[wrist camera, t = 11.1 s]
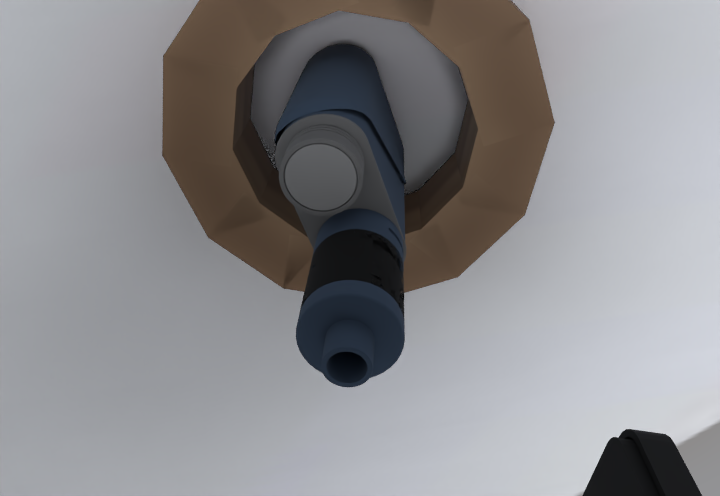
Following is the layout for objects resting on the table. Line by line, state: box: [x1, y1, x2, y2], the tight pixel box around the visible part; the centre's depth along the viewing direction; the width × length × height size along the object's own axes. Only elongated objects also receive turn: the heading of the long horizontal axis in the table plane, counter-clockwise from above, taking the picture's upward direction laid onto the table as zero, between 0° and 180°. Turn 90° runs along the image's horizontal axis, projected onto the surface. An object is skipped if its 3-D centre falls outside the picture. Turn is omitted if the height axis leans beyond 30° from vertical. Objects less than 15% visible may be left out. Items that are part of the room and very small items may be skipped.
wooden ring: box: [162, 0, 555, 293], centre depth 22 cm, size 12×12×3 cm
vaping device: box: [275, 44, 406, 387], centre depth 18 cm, size 3×5×12 cm, turn 19°
